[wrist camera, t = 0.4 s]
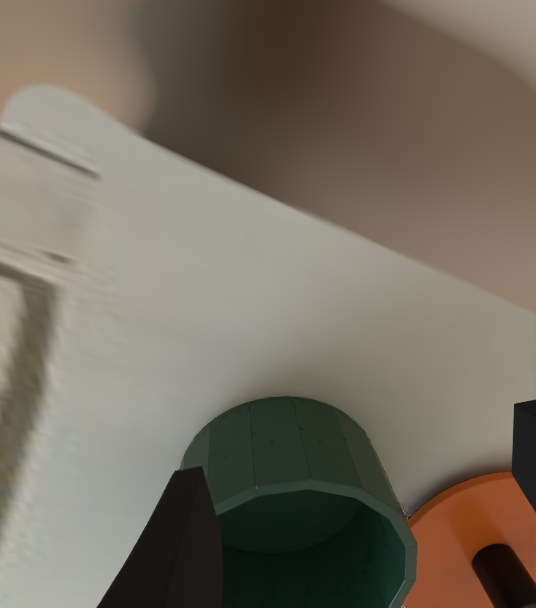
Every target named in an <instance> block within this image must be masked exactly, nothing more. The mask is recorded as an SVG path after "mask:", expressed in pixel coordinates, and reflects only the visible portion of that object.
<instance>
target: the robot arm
mask: <svg viewBox="0 0 536 608" xmlns="http://www.w3.org/2000/svg"><path fill="white" fill-rule="evenodd" d="M512 475H513V477H514V479H515V480H516V482H517V484H518V485H519V487H520V489H521V490H522V492H523V494H524V495H525V497H526V498H527V500H528V502H529V503H530V505H531V506H532V508H533V509H534V511H535V512H536V400H531V401H526V402H521V403H516V404H514V423H513V452H512ZM222 592H223V560H222V538H221V530H220V526H219V523H218V519H217V516H216V512H215V509H214V505H213V502H212V499H211V495H210V492H209V488H208V485H207V481H206V478H205V474H204V471H203V468H202V466H198V467H193V468H188V469H183V470H177V471H175V472H174V474H173V475H172V476H171V478H170V480H169V482H168V484H167V486H166V488H165V490H164V492H163V494H162V496H161V498H160V500H159V502H158V504H157V506H156V508H155V510H154V512H153V514H152V516H151V517H150V519H149V521H148V523H147V525H146V527H145V528H144V530H143V532H142V534H141V536H140V537H139V539H138V541H137V543H136V544H135V546H134V548H133V550H132V551H131V553H130V555H129V557H128V558H127V560H126V562H125V563H124V565H123V567H122V568H121V570H120V571H119V573H118V575H117V576H116V578H115V579H114V581H113V583H112V584H111V586H110V587H109V589H108V591H107V592H106V594H105V595H104V597H103V598H102V600H101V602H100V603H99V605H98V606H97V608H222Z"/></svg>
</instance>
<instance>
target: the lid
mask: <svg viewBox="0 0 536 608" xmlns="http://www.w3.org/2000/svg"><path fill="white" fill-rule="evenodd" d="M408 524H409V526H410V528H411V530H412V533H413V535H414V537H415V539H416V541H417V545H418V553H417V574H416V582H415V584H414V585H413V587H412V589H411V590H410V592H409V594H408V596H407V597H406V599H405V601H404V602H403V605H404V606H405V607H406V608H536V512H535V511H534V509H533V508H532V506H531V505H530V503H529V502H528V500H527V498H526V497H525V495H524V494H523V492H522V490H521V489H520V487H519V485H518V484H517V482H516V480H515V479H514V477H513V475H512V471H511V472H499V473H493V474H488V475H483V476H479V477H476V478H473V479H469V480H467V481H464V482H462V483H459V484H457V485H455V486H453V487H451V488H449V489H447V490H445V491H443V492H442V493H440V494H438V495H437V496H435V497H434V498H432V499H431V500H430V501H428V502H427V503H426V504H424V505H423V506H422V507H421V508H420V509H419V510H418V511H417V512H416V513H415V514H414V515H412V516H411V518H410V519H409V520H408Z"/></svg>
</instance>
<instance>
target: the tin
mask: <svg viewBox="0 0 536 608" xmlns="http://www.w3.org/2000/svg"><path fill="white" fill-rule="evenodd" d="M198 466H202V468H203V471H204V474H205V478H206V481H207V485H208V488H209V492H210V495H211V499H212V502H213V505H214V509H215V512H216V516H217V519H218V523H219V526H220V530H221V538H222V560H223V592H222V608H401V606H402V604H403V602H404V601H405V599H406V597H407V596H408V594H409V592H410V590H411V589H412V587H413V585H414V584H415V582H416V574H417V553H418V545H417V541H416V539H415V537H414V535H413V533H412V530H411V528H410V526H409V524H408V521H407V519H406V517H405V515H404V513H403V510H402V508H401V506H400V504H399V502H398V499H397V497H396V495H395V493H394V491H393V488H392V486H391V484H390V482H389V479H388V477H387V475H386V473H385V471H384V468H383V466H382V464H381V462H380V460H379V457H378V456H377V454H376V452H375V450H374V448H373V446H372V445H371V442H370V440H369V438H368V437H367V435H366V434H365V432H364V431H363V429H362V428H361V427H360V426H359V425H358V424H357V423H356V422H355V421H354V420H353V419H351V418H350V417H349V416H348V415H346V414H345V413H343V412H341V411H340V410H338V409H336V408H334V407H332V406H330V405H327V404H325V403H322V402H319V401H315V400H312V399H306V398H300V397H271V398H265V399H259V400H255V401H252V402H248V403H245V404H242V405H240V406H237V407H235V408H233V409H230V410H228V411H227V412H225V413H223V414H221V415H220V416H218V417H217V418H215V419H214V420H213V421H211V422H210V423H209V424H207V425H206V426H205V427H204V428H203V429H202V430H201V431H200V432H199V433H198V434H197V436H196V437H195V438H194V440H193V441H192V442H191V444H190V445H189V447H188V449H187V450H186V452H185V454H184V457H183V460H182V462H181V466H180V470H183V469H188V468H193V467H198Z"/></svg>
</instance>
